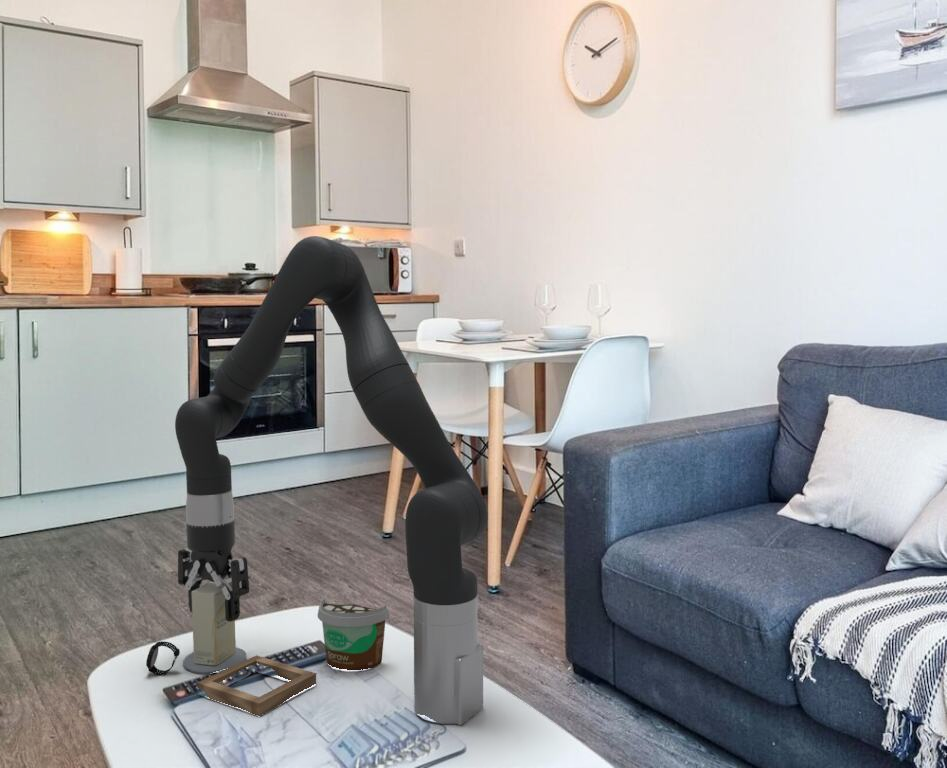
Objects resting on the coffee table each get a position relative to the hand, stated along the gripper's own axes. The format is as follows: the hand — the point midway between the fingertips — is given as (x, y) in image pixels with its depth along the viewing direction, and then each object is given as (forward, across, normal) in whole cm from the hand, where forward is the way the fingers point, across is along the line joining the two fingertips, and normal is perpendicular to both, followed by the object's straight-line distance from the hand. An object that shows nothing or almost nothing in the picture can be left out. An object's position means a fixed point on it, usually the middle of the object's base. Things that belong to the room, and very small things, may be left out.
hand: (214, 615), depth 141 cm
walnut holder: (+8, -14, +4) cm, 16 cm away
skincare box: (+8, 0, 0) cm, 8 cm away
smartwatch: (+8, +4, +8) cm, 12 cm away
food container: (+8, -20, -10) cm, 24 cm away
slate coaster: (+8, 0, 0) cm, 8 cm away
